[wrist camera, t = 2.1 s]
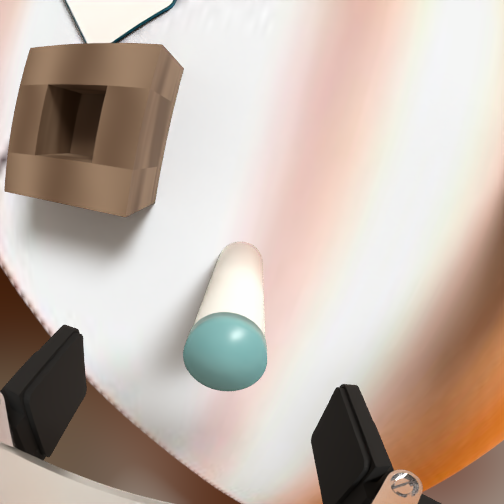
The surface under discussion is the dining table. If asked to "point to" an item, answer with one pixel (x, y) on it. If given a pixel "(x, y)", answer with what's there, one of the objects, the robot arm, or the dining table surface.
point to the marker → (230, 323)
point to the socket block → (93, 125)
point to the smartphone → (114, 17)
